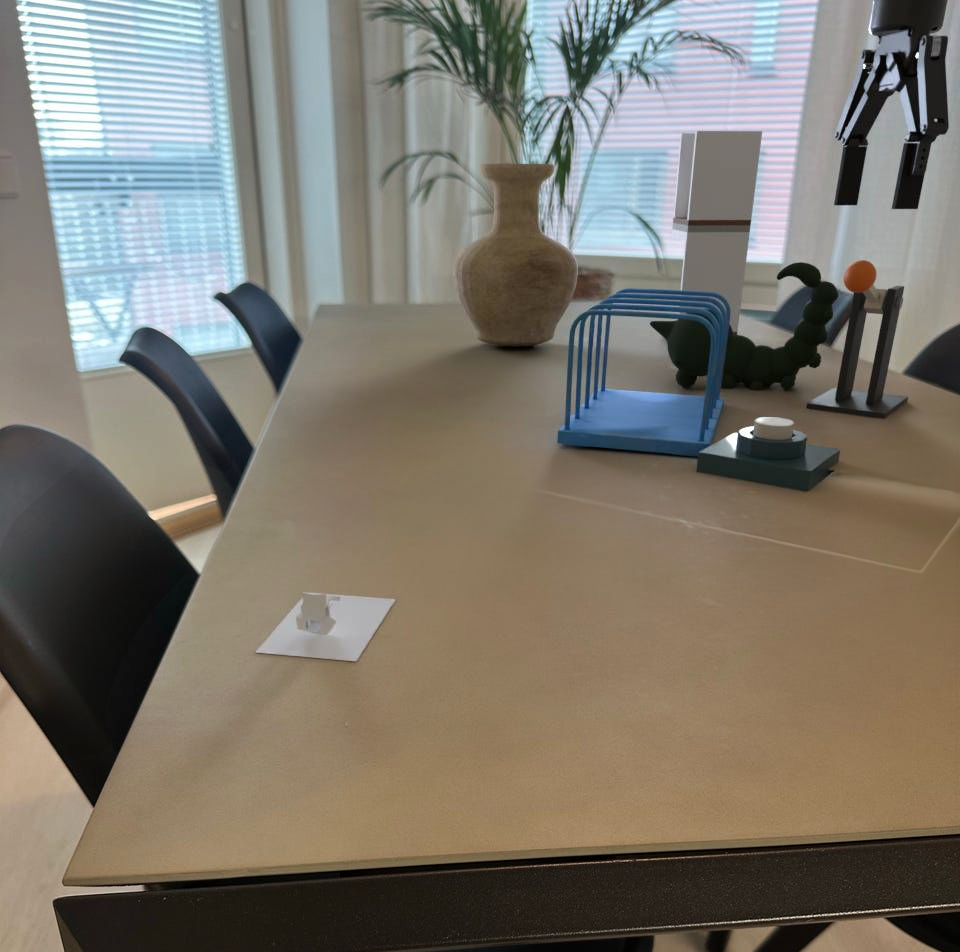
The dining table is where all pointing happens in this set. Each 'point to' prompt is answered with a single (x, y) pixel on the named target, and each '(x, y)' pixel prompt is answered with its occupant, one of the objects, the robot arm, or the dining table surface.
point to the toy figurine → (742, 355)
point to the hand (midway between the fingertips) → (873, 207)
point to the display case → (716, 211)
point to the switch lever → (865, 285)
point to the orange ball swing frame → (874, 399)
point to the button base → (769, 460)
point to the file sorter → (646, 414)
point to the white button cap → (773, 428)
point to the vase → (515, 264)
